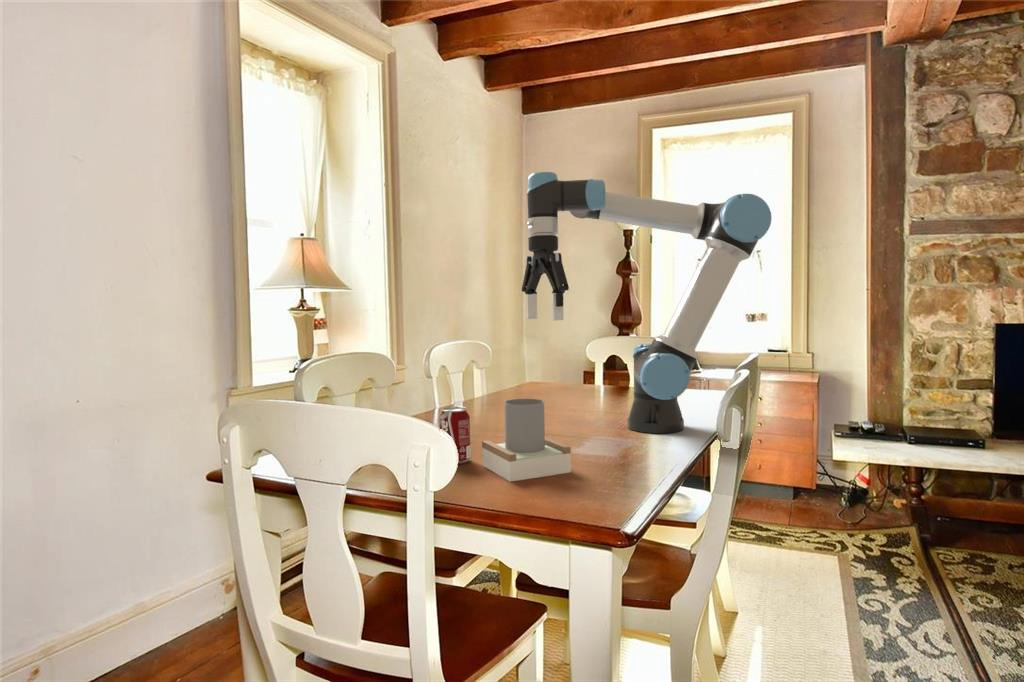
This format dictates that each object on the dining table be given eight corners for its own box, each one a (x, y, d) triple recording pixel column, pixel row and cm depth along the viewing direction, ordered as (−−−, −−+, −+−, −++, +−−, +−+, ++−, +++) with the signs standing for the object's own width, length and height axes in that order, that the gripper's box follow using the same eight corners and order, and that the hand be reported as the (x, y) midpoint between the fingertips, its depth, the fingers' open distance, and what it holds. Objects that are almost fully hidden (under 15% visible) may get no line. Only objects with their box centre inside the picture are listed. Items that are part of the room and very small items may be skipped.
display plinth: (539, 457, 146) (538, 434, 146) (570, 472, 134) (570, 446, 133) (482, 465, 140) (481, 441, 140) (509, 481, 128) (509, 454, 127)
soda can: (475, 459, 146) (474, 406, 145) (463, 466, 140) (462, 412, 139) (448, 457, 148) (446, 405, 147) (435, 464, 142) (433, 410, 141)
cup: (541, 453, 132) (540, 405, 131) (501, 452, 134) (501, 404, 133) (547, 444, 140) (546, 398, 139) (510, 443, 142) (509, 398, 141)
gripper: (508, 239, 172) (509, 318, 173) (554, 230, 150) (556, 321, 151) (533, 240, 175) (534, 318, 177) (582, 231, 153) (583, 320, 154)
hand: (544, 319), depth 164 cm, fingers open, 13 cm apart
